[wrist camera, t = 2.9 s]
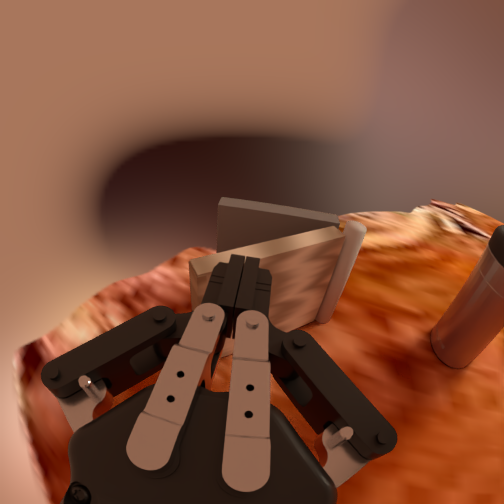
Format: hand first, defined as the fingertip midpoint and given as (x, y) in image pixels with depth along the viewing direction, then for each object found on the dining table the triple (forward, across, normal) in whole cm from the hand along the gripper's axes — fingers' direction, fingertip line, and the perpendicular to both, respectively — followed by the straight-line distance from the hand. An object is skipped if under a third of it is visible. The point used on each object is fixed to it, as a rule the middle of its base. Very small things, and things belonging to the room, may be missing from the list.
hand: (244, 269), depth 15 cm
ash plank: (+10, -2, +19) cm, 22 cm away
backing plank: (+16, -4, +19) cm, 26 cm away
